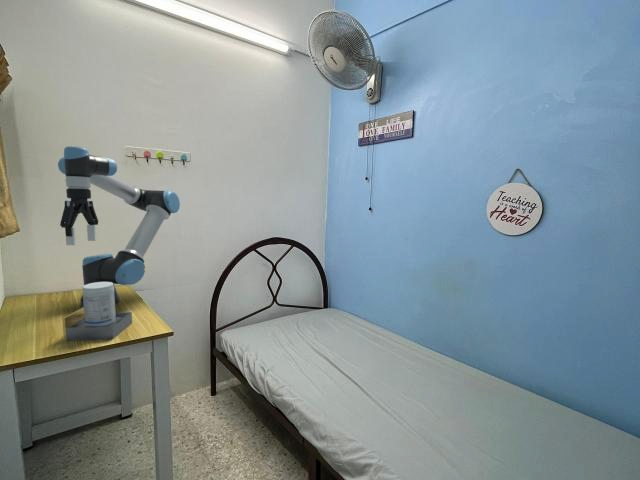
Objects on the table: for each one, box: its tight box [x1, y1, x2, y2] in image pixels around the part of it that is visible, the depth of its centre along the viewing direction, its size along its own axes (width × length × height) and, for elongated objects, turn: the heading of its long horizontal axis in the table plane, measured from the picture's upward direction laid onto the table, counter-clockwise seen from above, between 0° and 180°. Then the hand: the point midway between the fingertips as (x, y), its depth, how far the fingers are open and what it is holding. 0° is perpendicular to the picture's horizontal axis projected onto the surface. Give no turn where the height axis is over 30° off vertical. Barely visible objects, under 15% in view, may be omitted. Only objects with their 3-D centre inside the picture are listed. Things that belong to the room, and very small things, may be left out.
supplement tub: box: [82, 282, 117, 327], centre depth 117 cm, size 10×10×15 cm
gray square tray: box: [62, 307, 133, 342], centre depth 118 cm, size 15×16×8 cm
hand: (82, 242), depth 125 cm, fingers open, 13 cm apart
